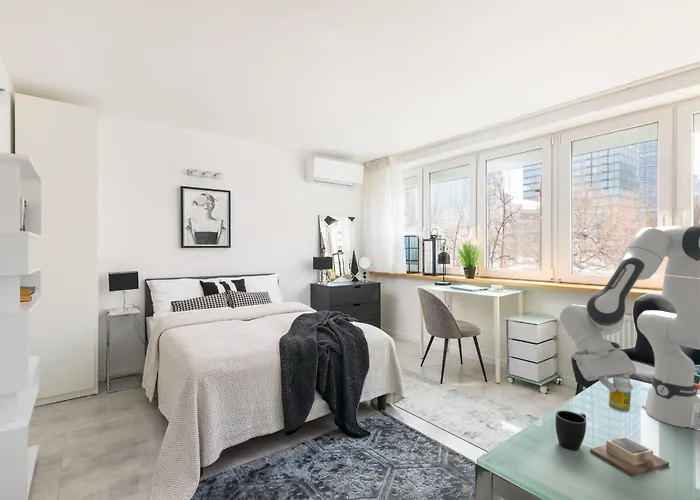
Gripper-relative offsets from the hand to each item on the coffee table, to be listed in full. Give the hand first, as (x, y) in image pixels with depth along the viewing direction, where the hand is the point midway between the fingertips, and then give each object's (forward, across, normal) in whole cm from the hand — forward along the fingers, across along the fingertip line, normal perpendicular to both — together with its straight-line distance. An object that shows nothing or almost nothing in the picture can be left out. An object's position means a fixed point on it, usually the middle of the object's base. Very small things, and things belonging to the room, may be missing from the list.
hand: (622, 390), depth 115 cm
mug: (+9, -12, +18) cm, 23 cm away
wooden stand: (+16, -2, +10) cm, 19 cm away
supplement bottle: (+4, 0, +5) cm, 6 cm away
